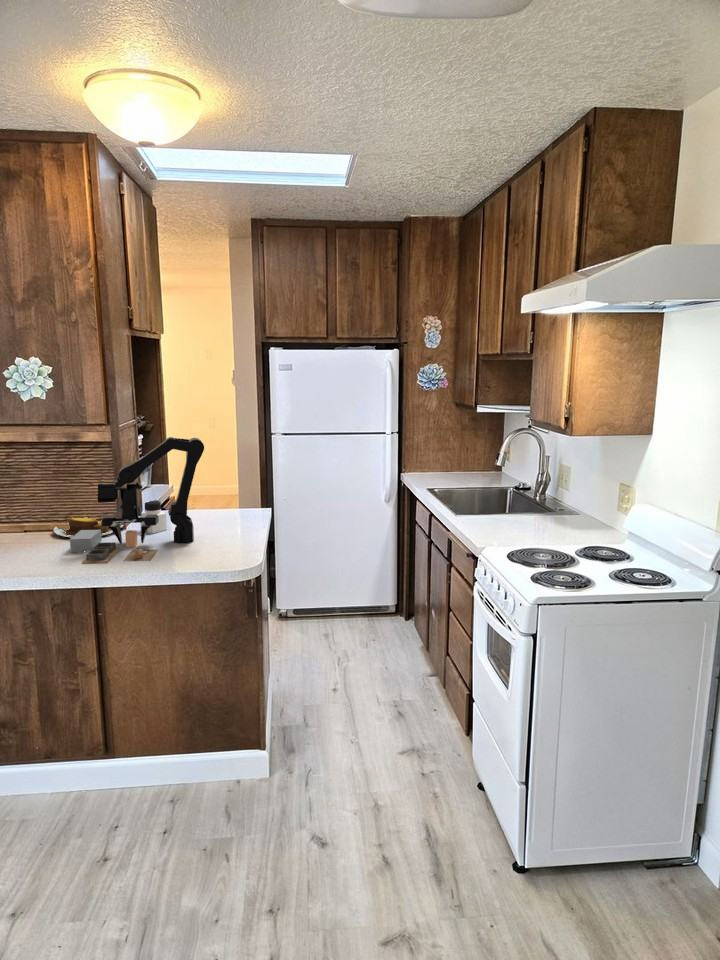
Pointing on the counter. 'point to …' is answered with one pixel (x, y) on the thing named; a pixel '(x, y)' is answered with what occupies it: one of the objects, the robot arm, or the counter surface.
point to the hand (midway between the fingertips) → (131, 543)
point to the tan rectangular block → (131, 538)
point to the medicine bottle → (155, 508)
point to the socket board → (101, 553)
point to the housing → (85, 540)
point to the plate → (145, 556)
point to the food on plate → (82, 526)
